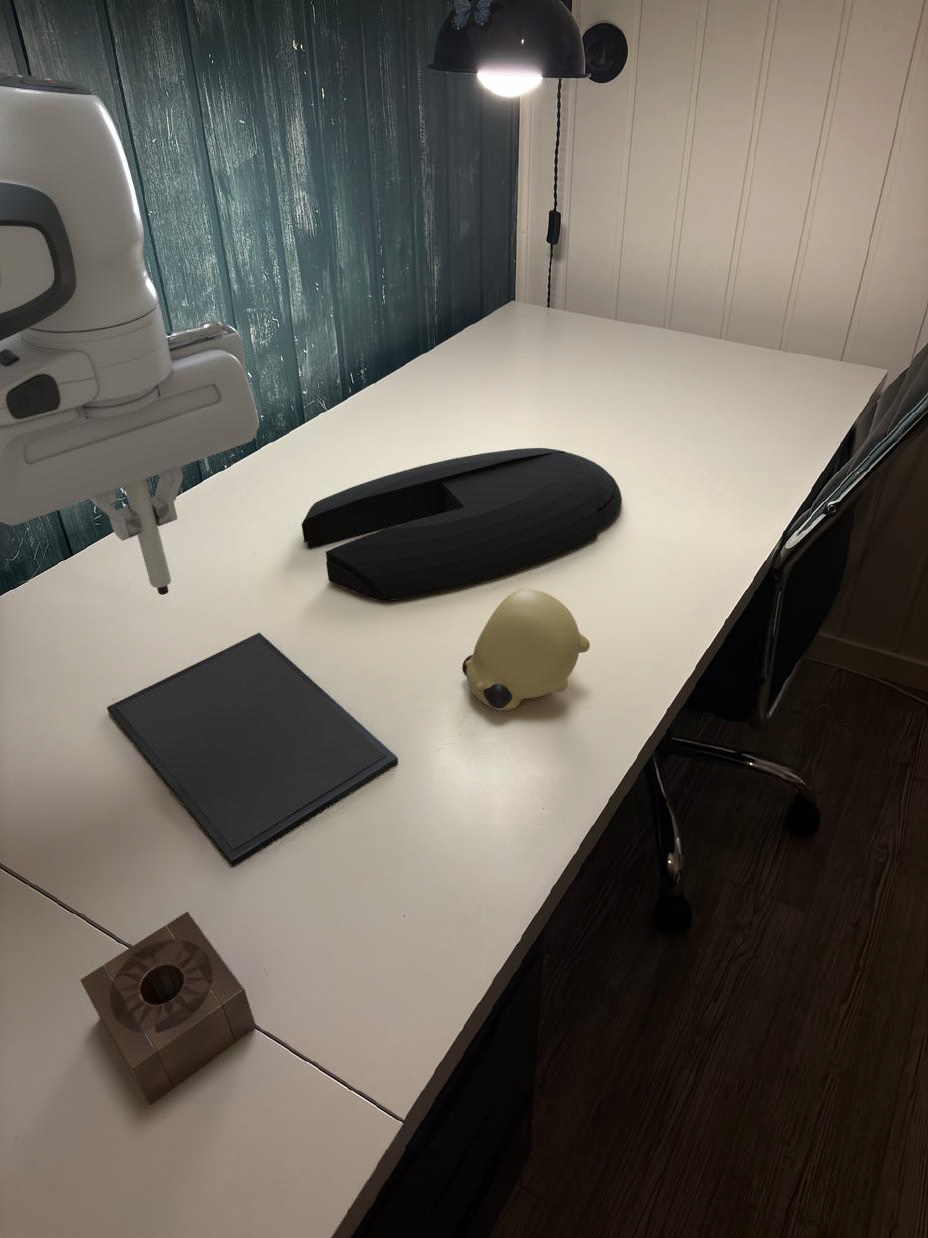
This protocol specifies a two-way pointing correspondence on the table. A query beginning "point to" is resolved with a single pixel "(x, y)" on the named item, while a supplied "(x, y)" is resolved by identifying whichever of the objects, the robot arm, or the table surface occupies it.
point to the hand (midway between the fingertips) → (146, 527)
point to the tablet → (250, 744)
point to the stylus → (149, 535)
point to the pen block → (169, 1005)
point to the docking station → (461, 521)
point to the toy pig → (524, 650)
